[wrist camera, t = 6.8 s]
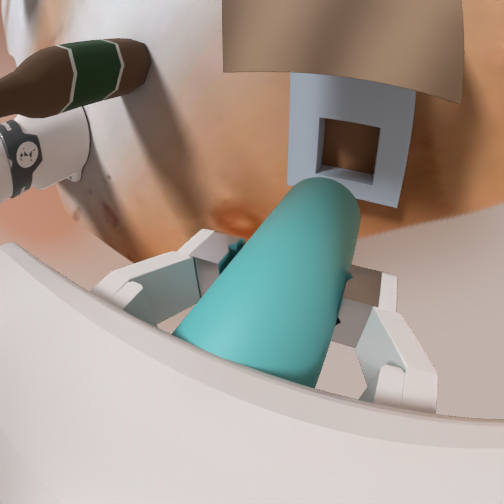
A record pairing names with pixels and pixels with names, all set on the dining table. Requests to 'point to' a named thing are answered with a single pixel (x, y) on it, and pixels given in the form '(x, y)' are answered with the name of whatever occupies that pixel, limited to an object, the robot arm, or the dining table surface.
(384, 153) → the socket
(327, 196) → the peg
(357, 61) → the toy chair
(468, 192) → the dining table surface
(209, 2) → the dining table surface
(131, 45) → the beer bottle
